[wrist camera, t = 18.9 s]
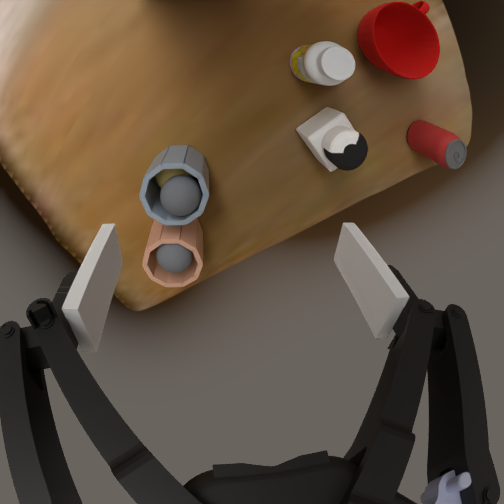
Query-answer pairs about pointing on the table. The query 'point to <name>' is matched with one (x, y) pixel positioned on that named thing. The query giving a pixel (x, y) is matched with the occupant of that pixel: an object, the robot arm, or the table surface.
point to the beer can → (437, 144)
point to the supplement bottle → (322, 63)
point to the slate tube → (151, 190)
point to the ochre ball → (169, 175)
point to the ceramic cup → (400, 39)
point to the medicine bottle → (333, 140)
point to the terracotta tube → (174, 234)
